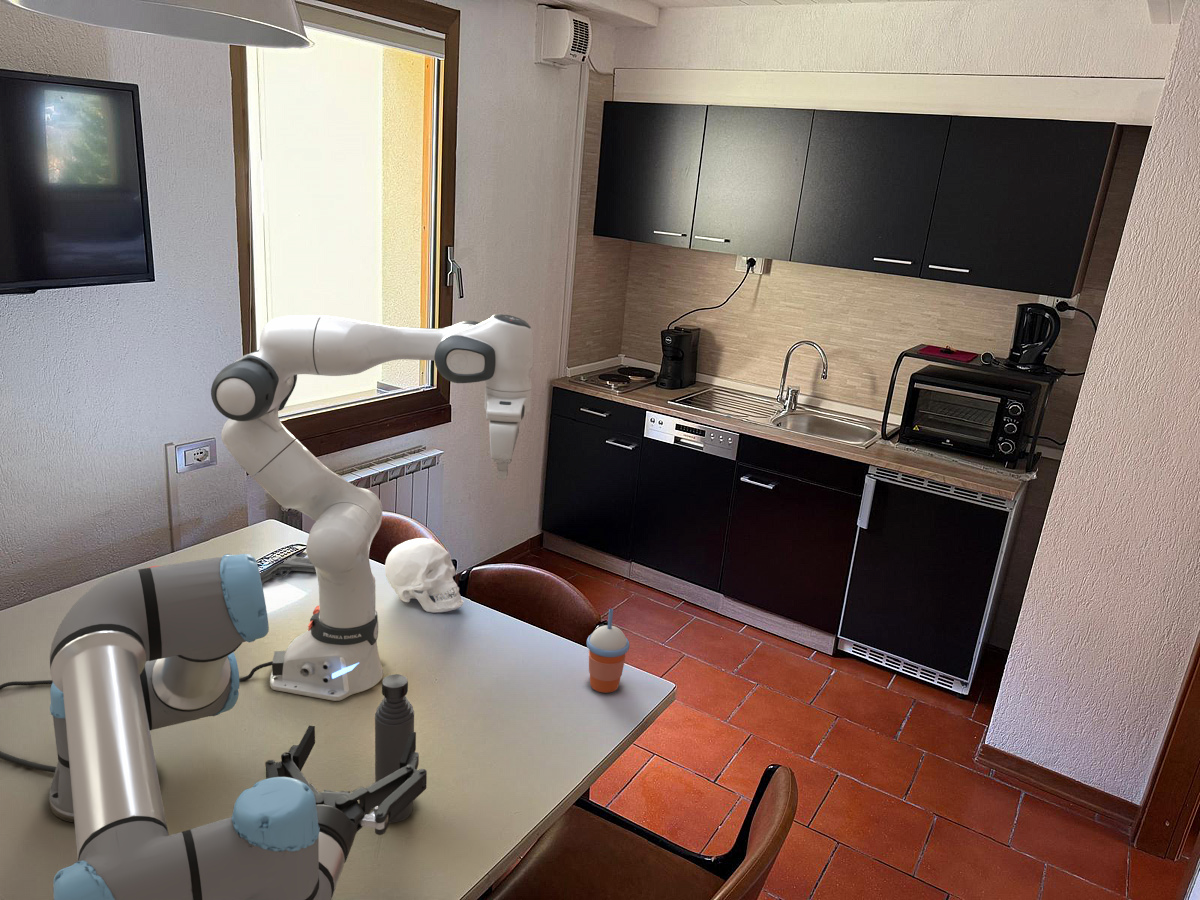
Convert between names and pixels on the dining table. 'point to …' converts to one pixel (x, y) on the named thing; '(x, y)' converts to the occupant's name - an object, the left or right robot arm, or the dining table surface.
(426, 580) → the skull
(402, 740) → the bottle
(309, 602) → the dining table surface
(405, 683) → the cap
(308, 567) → the handgun
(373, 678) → the right robot arm
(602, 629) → the cup with straw
